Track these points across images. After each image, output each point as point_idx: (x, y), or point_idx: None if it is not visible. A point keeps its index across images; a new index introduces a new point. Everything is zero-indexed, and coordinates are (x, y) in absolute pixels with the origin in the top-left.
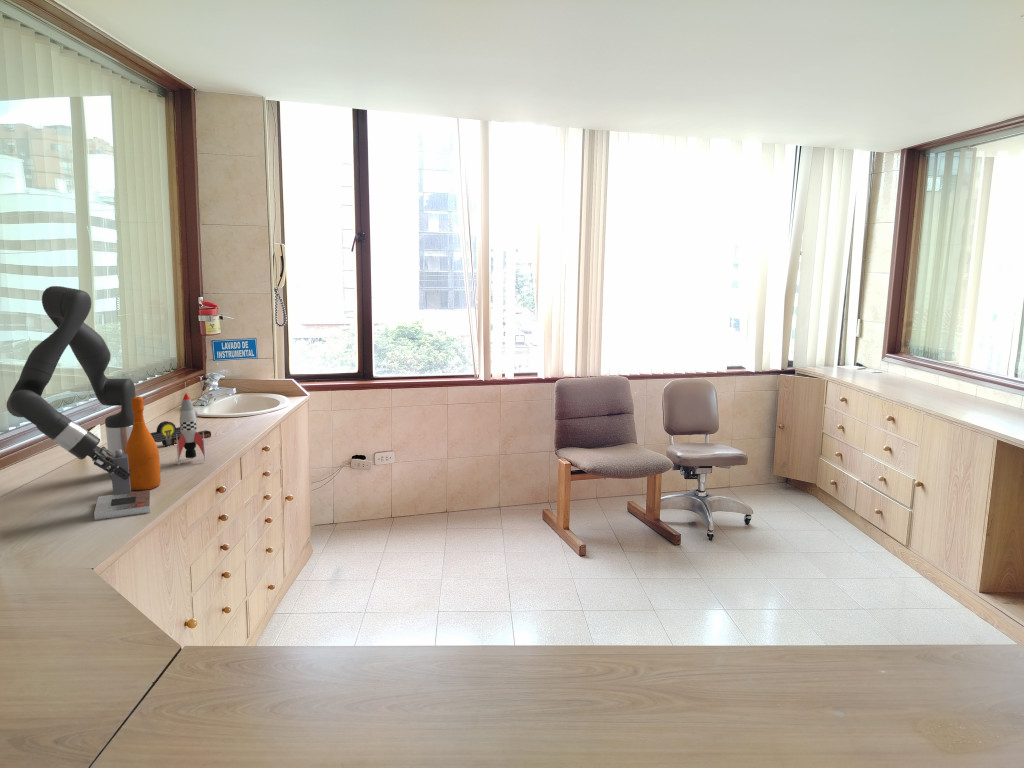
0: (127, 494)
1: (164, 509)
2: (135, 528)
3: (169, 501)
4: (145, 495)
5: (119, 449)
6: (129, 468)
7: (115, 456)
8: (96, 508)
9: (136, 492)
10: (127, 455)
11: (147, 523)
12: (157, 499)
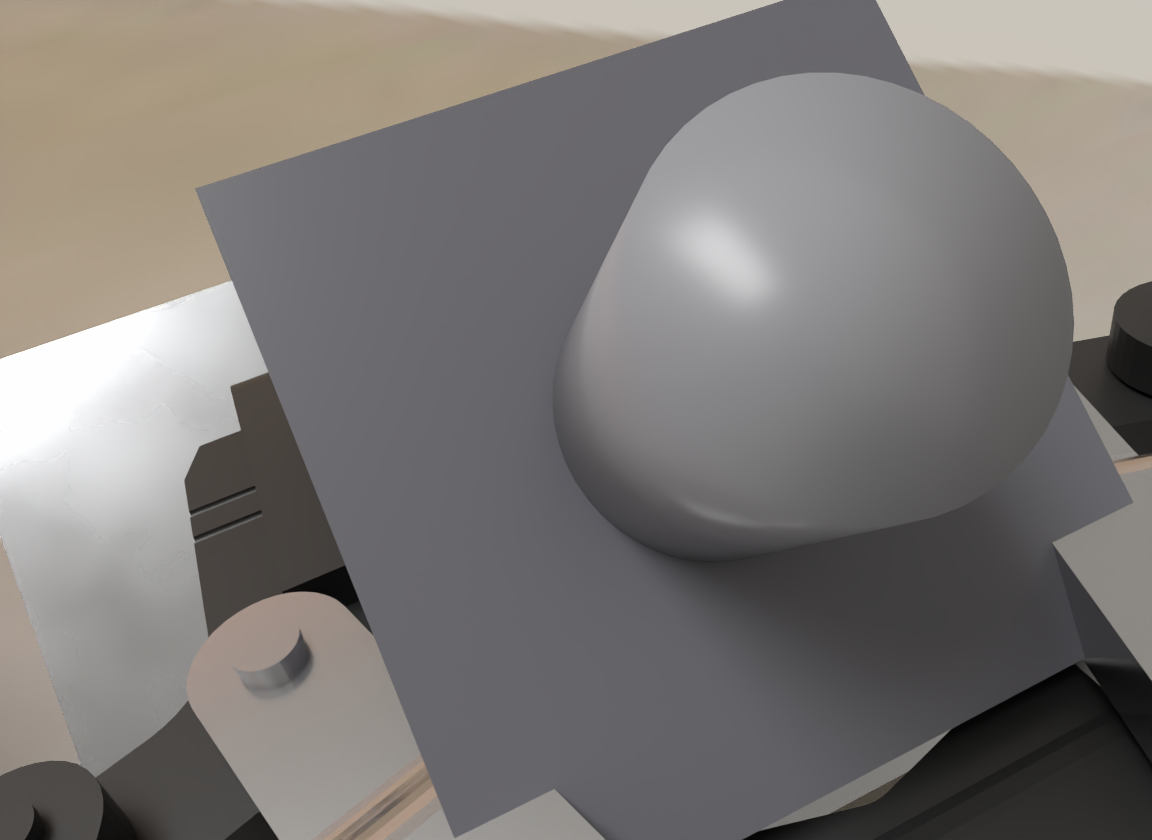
0: (160, 650)
1: (579, 38)
2: (1137, 141)
3: (276, 69)
4: (245, 338)
5: (691, 285)
6: (244, 397)
7: (684, 598)
8: (807, 807)
9: (63, 546)
10: (503, 95)
11: (1004, 74)
12: (169, 248)
